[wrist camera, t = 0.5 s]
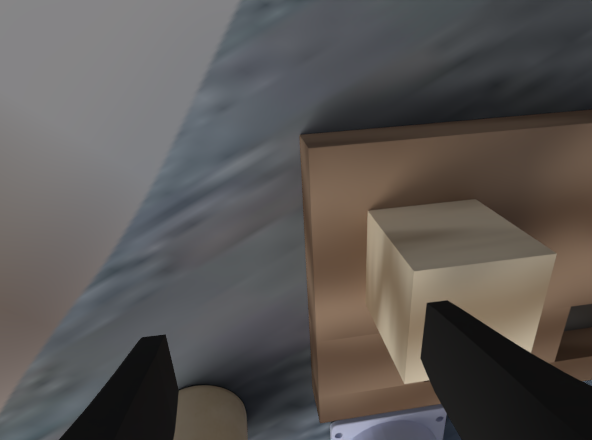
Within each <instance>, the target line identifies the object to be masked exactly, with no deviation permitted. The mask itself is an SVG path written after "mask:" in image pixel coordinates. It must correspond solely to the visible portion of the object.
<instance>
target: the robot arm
mask: <svg viewBox="0 0 592 440" xmlns="http://www.w3.org/2000/svg"><path fill="white" fill-rule="evenodd" d="M420 359H421V361H422V364H423V366H424V368H425V371H426V373H427V376H428V378H429V380H430V383H431V385H432V387H433V389H434V392H435V394H436V395H437V397H438V399H439V401H440V403H441V404H442V405H441V404H438V405H431V406H425V407H419V408H413V409H406V410H400V411H394V412H388V413H382V414H375V415H369V416H363V417H357V418H350V419H344V420H338V421H334V422H333V423H332V424H331V425H330V440H443V435H444V428H445V422H446V415H448V417H449V418H450V420H451V422H452V424H453V425H454V427H455V429H456V430H457V432H458V434H459V436H460V437H461V439H462V440H592V386H590V385H588V384H586V383H584V382H582V381H580V380H578V379H576V378H574V377H573V376H571V375H569V374H567V373H565V372H563V371H561V370H560V369H558V368H556V367H554V366H553V365H551V364H549V363H547V362H546V361H544V360H542V359H540V358H539V357H537V356H535V355H534V354H532V353H530V352H529V351H527V350H525V349H524V348H522V347H520V346H519V345H517V344H515V343H514V342H512V341H511V340H509V339H507V338H506V337H504V336H503V335H501V334H500V333H498V332H496V331H495V330H493V329H492V328H490V327H489V326H487V325H486V324H484V323H483V322H481V321H480V320H478V319H476V318H475V317H473V316H472V315H470V314H469V313H467V312H466V311H464V310H463V309H461V308H459V307H458V306H456V305H455V304H453V303H451V302H450V301H448V300H445V301H437V302H429V303H427V305H426V314H425V322H424V331H423V339H422V348H421V357H420ZM178 394H179V390H178V386H177V382H176V377H175V373H174V369H173V364H172V360H171V356H170V351H169V347H168V343H167V338H166V335H158V336H149V337H142V338H141V339H140V340H139V341H138V343H137V344H136V345H135V346H134V348H133V349H132V350H131V352H130V353H129V354H128V356H127V357H126V358H125V360H124V361H123V362H122V364H121V365H120V366H119V368H118V369H117V370H116V372H115V373H114V374H113V375H112V377H111V378H110V379H109V381H108V382H107V383H106V384H105V386H104V387H103V388H102V389H101V391H100V392H99V393H98V394H97V396H96V397H95V398H94V399H93V401H92V402H91V403H90V404H89V406H88V407H87V408H86V409H85V410H84V412H83V413H82V414H81V415H80V416H79V417H78V418H77V420H76V421H75V422H74V423H73V424H72V425H71V426H70V428H69V429H68V430H67V431H66V432H65V433H64V434H63V436H62V437H61V438H60V439H59V440H173V439H174V434H175V427H176V417H177V406H178Z"/></svg>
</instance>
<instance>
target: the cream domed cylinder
mask: <svg viewBox="0 0 592 440" xmlns="http://www.w3.org/2000/svg"><path fill="white" fill-rule="evenodd" d="M173 440H248V439H247V415H246V410H245V407H244V404H243V402H242V401H241V400H240V398H239V397H238V396H236V395H235V394H234V393H232V392H231V391H229V390H227V389H224V388H221V387H217V386H210V385H198V386H191V387H188V388H184V389H182V390H179V394H178V406H177V417H176V427H175V434H174V439H173Z"/></svg>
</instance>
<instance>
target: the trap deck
mask: <svg viewBox="0 0 592 440" xmlns="http://www.w3.org/2000/svg"><path fill="white" fill-rule="evenodd" d="M300 154H301V173H302V193H303V212H304V232H305V251H306V270H307V290H308V309H309V329H310V348H311V367H312V387H313V393H314V397H315V402H316V406H317V411H318V416H319V420H320V423H325V422H331V421H337V420H343V419H349V418H356V417H362V416H368V415H374V414H381V413H387V412H393V411H399V410H406V409H412V408H418V407H424V406H430V405H437V404H441V403H440V401H439V399H438V397H437V395H436V394H435V392H434V389H433V387H432V385H431V383H430V380H427V381H421V382H414V383H408V384H404V382H403V380H402V378H401V376H400V374H399V372H398V370H397V368H396V366H395V364H394V362H393V360H392V358H391V355H390V353H389V351H388V349H387V347H386V345H385V343H384V341H383V339H382V337H381V335H380V333H379V331H378V329H377V327H376V325H375V322H374V320H373V318H372V316H371V314H370V312H369V310H368V308H367V306H366V304H365V300H366V259H367V217H368V211H370V210H379V209H388V208H397V207H407V206H416V205H425V204H435V203H444V202H453V201H463V200H472V199H476V200H478V201H479V202H481V203H482V204H484V205H485V206H487V207H488V208H490V209H491V210H493V211H494V212H496V213H497V214H499V215H500V216H502V217H503V218H504V219H506V220H507V221H509V222H510V223H512V224H513V225H515V226H516V227H518V228H519V229H521V230H522V231H524V232H525V233H527V234H528V235H530V236H531V237H533V238H534V239H536V240H537V241H539V242H540V243H542V244H543V245H545V246H546V247H548V248H549V249H551V250H552V251H554V252H555V253H557V255H556V259H555V263H554V267H553V271H552V274H551V278H550V282H549V286H548V290H547V294H546V297H545V301H544V305H543V309H542V313H541V317H540V320H539V324H538V328H537V332H536V336H535V340H534V343H533V347H532V351H531V353H532V354H534V355H535V356H537V357H539V358H540V359H542V360H544V361H546V362H547V363H549V364H551V365H553V366H554V367H556V368H558V369H560V370H561V371H563V372H565V373H567V374H569V375H571V376H573V377H574V378H576V379H578V380H580V381H586V380H592V110H581V111H569V112H558V113H546V114H535V115H523V116H511V117H500V118H488V119H477V120H465V121H453V122H442V123H430V124H419V125H407V126H395V127H384V128H372V129H361V130H349V131H338V132H326V133H314V134H303V135H300Z"/></svg>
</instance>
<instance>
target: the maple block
mask: <svg viewBox="0 0 592 440" xmlns="http://www.w3.org/2000/svg"><path fill="white" fill-rule="evenodd" d="M556 255H557V253H555V252H554V251H552V250H551V249H549V248H548V247H546V246H545V245H543V244H542V243H540V242H539V241H537V240H536V239H534V238H533V237H531V236H530V235H528V234H527V233H525V232H524V231H522V230H521V229H519V228H518V227H516V226H515V225H513V224H512V223H510V222H509V221H507V220H506V219H504V218H503V217H502V216H500V215H499V214H497V213H496V212H494V211H493V210H491V209H490V208H488V207H487V206H485V205H484V204H482V203H481V202H479V201H478V200H476V199H472V200H463V201H453V202H444V203H435V204H425V205H416V206H407V207H397V208H388V209H379V210H370V211H368V217H367V259H366V300H365V304H366V306H367V308H368V310H369V312H370V314H371V316H372V318H373V320H374V322H375V325H376V327H377V329H378V331H379V333H380V335H381V337H382V339H383V341H384V343H385V345H386V347H387V349H388V351H389V353H390V355H391V358H392V360H393V362H394V364H395V366H396V368H397V370H398V372H399V374H400V376H401V378H402V380H403V382H404V384H408V383H414V382H421V381H427V380H429V378H428V376H427V373H426V371H425V368H424V366H423V364H422V361H421V359H420V357H421V348H422V339H423V331H424V322H425V314H426V305H427V303H429V302H437V301H445V300H448V301H450V302H451V303H453V304H455V305H456V306H458V307H459V308H461V309H463V310H464V311H466V312H467V313H469V314H470V315H472V316H473V317H475V318H476V319H478V320H480V321H481V322H483V323H484V324H486V325H487V326H489V327H490V328H492V329H493V330H495V331H496V332H498V333H500V334H501V335H503V336H504V337H506V338H507V339H509V340H511V341H512V342H514V343H515V344H517V345H519V346H520V347H522V348H524V349H525V350H527V351H529V352H530V353H531V351H532V347H533V343H534V340H535V336H536V332H537V328H538V324H539V320H540V317H541V313H542V309H543V305H544V301H545V297H546V294H547V290H548V286H549V282H550V278H551V274H552V271H553V267H554V263H555V259H556Z"/></svg>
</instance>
